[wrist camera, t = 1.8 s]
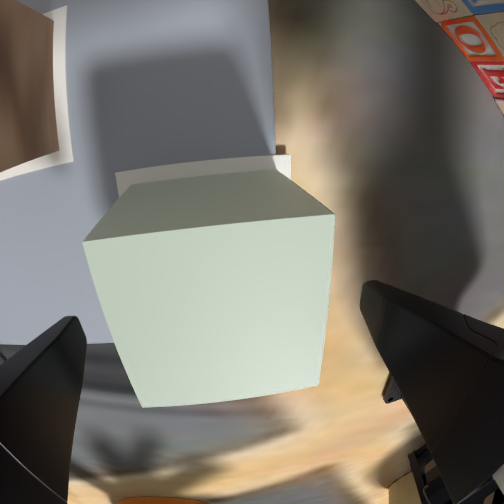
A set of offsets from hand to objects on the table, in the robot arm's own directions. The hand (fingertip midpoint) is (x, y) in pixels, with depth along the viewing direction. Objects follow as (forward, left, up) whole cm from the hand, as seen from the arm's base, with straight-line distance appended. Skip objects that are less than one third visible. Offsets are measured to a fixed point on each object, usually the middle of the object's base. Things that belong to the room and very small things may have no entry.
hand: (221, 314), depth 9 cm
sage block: (0, 0, -5) cm, 5 cm away
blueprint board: (+5, +6, -6) cm, 10 cm away
